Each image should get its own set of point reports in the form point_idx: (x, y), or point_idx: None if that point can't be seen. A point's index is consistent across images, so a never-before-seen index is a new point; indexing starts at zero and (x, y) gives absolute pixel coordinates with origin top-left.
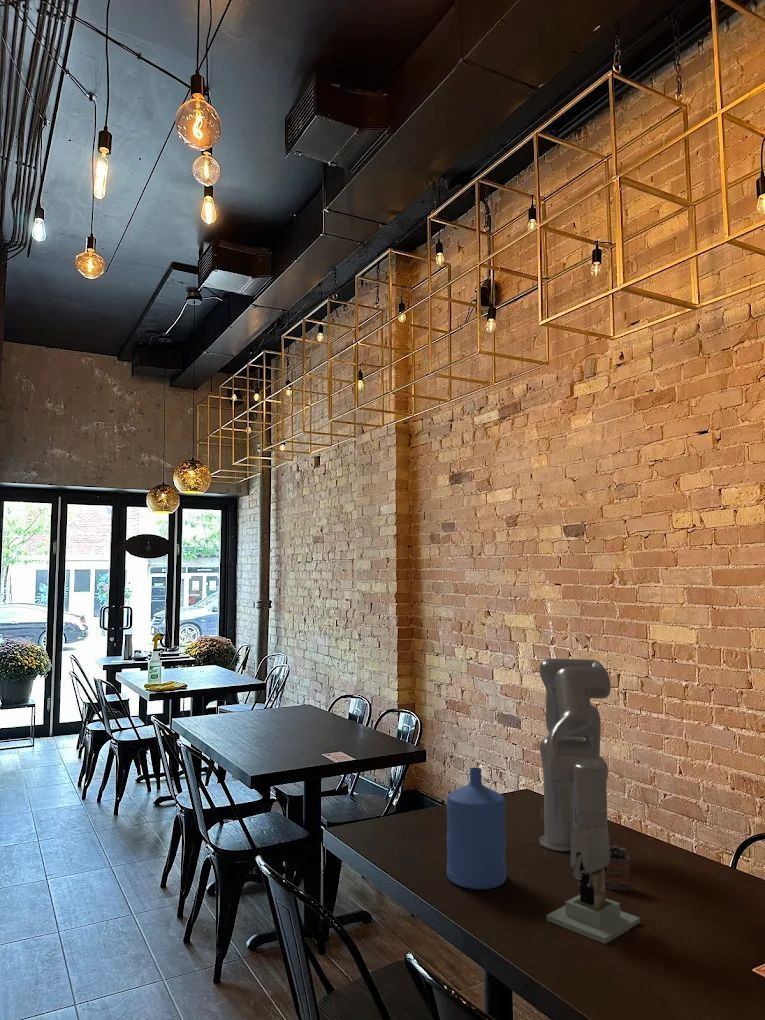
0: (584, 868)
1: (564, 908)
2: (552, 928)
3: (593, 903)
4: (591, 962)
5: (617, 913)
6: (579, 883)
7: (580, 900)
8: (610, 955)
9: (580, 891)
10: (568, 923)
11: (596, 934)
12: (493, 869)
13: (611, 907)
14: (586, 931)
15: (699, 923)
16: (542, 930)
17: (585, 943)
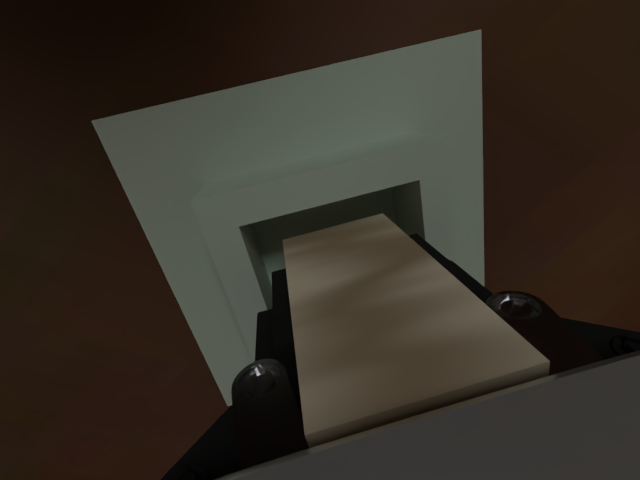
0: (418, 406)
1: (262, 104)
2: (90, 207)
3: None
4: (95, 454)
5: None
6: (240, 379)
7: (284, 255)
8: (194, 439)
9: (272, 305)
10: (161, 258)
11: (218, 375)
12: None
13: None
14: (197, 341)
15: None
16: (18, 201)
17: (161, 361)
